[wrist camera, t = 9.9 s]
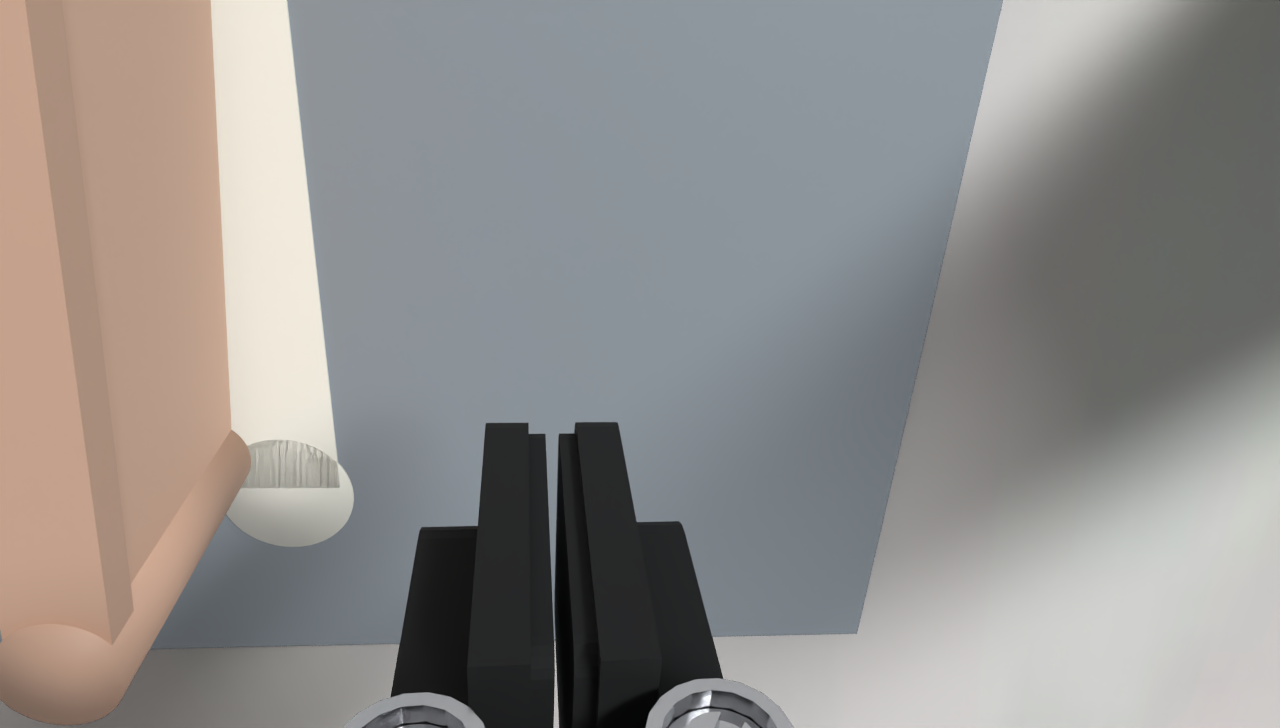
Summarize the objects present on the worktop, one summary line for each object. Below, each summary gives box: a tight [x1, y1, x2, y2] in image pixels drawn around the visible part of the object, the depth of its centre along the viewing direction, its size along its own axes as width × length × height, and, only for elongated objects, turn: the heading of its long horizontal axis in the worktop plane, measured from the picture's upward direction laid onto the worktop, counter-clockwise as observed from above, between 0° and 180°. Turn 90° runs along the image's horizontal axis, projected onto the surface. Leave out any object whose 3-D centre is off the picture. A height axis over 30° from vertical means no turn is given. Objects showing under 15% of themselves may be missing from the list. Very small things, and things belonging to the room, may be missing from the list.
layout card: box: [0, 0, 1003, 649], centre depth 18 cm, size 31×25×1 cm
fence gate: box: [0, 0, 251, 725], centre depth 14 cm, size 14×2×7 cm, turn 171°
